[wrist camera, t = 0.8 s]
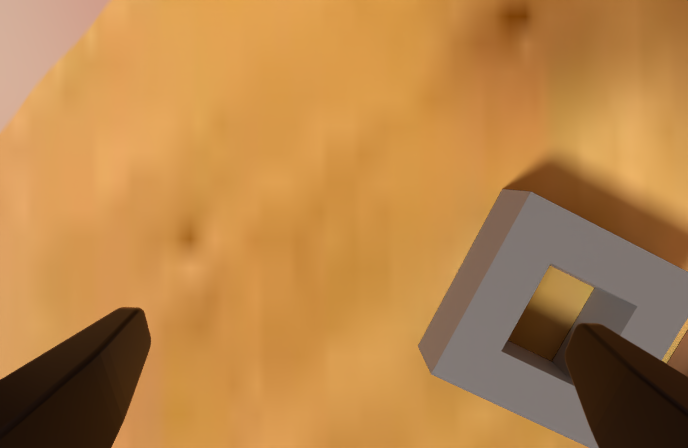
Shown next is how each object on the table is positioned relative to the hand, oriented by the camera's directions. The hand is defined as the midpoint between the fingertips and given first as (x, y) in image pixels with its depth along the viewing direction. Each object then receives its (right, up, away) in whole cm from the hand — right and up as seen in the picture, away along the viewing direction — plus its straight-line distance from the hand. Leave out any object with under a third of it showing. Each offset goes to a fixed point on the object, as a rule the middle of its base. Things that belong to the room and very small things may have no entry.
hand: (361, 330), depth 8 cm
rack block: (+12, -3, +16) cm, 20 cm away
